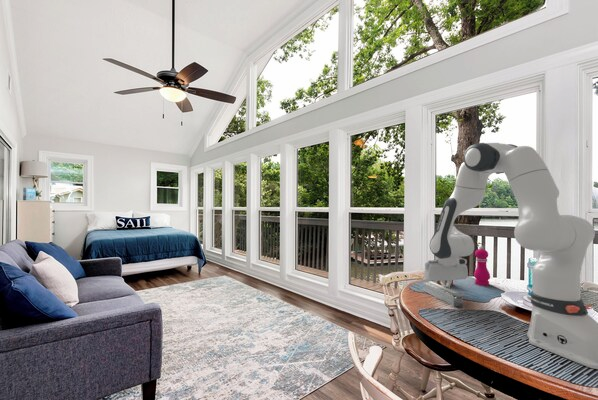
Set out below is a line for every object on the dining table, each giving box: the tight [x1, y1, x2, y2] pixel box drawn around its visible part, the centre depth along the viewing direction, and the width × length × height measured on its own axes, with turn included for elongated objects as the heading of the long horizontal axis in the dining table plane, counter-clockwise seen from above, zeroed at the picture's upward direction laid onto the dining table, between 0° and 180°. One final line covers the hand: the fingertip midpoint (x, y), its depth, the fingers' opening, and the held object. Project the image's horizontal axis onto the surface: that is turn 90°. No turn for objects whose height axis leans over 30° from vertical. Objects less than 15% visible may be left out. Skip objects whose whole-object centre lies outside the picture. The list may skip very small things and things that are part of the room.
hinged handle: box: [427, 281, 468, 298], centre depth 128 cm, size 24×4×5 cm, turn 9°
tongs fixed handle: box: [422, 282, 463, 309], centre depth 128 cm, size 24×3×4 cm, turn 10°
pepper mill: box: [473, 245, 491, 287], centre depth 150 cm, size 7×7×20 cm
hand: (445, 289), depth 132 cm, fingers closed
